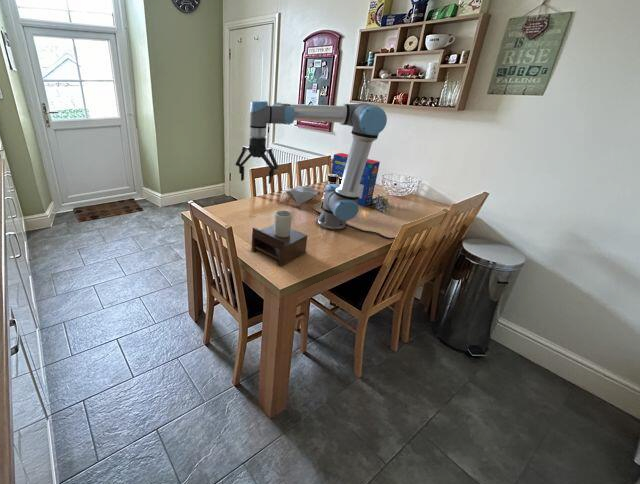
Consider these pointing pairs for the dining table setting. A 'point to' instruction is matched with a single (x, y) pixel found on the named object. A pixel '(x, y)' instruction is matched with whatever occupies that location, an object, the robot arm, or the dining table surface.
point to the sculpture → (301, 194)
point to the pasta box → (366, 181)
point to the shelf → (279, 244)
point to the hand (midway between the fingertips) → (256, 181)
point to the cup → (282, 223)
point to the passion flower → (380, 203)
